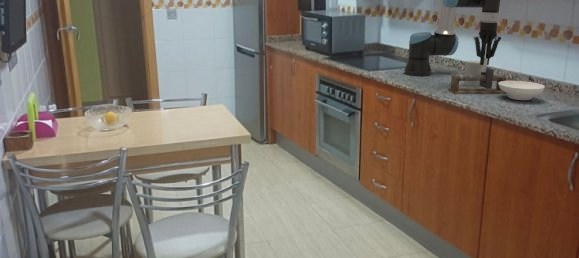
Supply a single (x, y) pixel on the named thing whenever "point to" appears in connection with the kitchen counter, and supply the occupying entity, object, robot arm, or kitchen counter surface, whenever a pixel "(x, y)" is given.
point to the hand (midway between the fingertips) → (483, 71)
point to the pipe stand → (456, 89)
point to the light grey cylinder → (472, 72)
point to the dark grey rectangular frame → (487, 79)
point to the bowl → (521, 89)
